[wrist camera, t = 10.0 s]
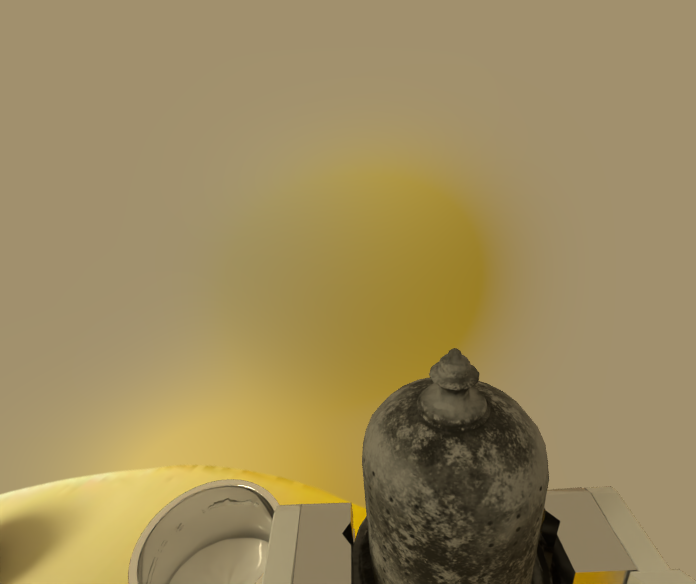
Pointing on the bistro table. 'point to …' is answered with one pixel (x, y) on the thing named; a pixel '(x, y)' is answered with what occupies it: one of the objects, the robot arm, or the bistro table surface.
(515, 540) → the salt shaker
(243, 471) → the bistro table surface
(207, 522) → the beer glass
